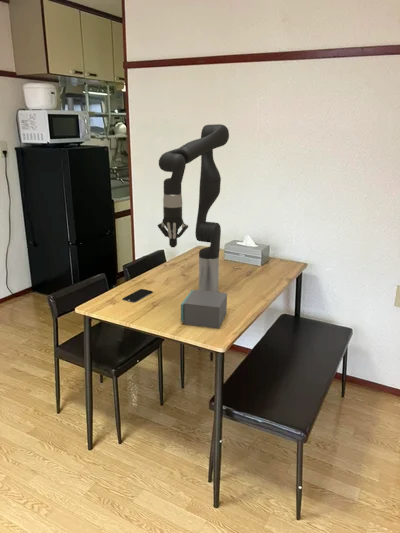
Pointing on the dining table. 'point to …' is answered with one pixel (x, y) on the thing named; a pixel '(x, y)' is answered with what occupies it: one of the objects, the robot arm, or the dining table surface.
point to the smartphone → (137, 295)
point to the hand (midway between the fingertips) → (173, 246)
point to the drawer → (183, 306)
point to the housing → (205, 309)
